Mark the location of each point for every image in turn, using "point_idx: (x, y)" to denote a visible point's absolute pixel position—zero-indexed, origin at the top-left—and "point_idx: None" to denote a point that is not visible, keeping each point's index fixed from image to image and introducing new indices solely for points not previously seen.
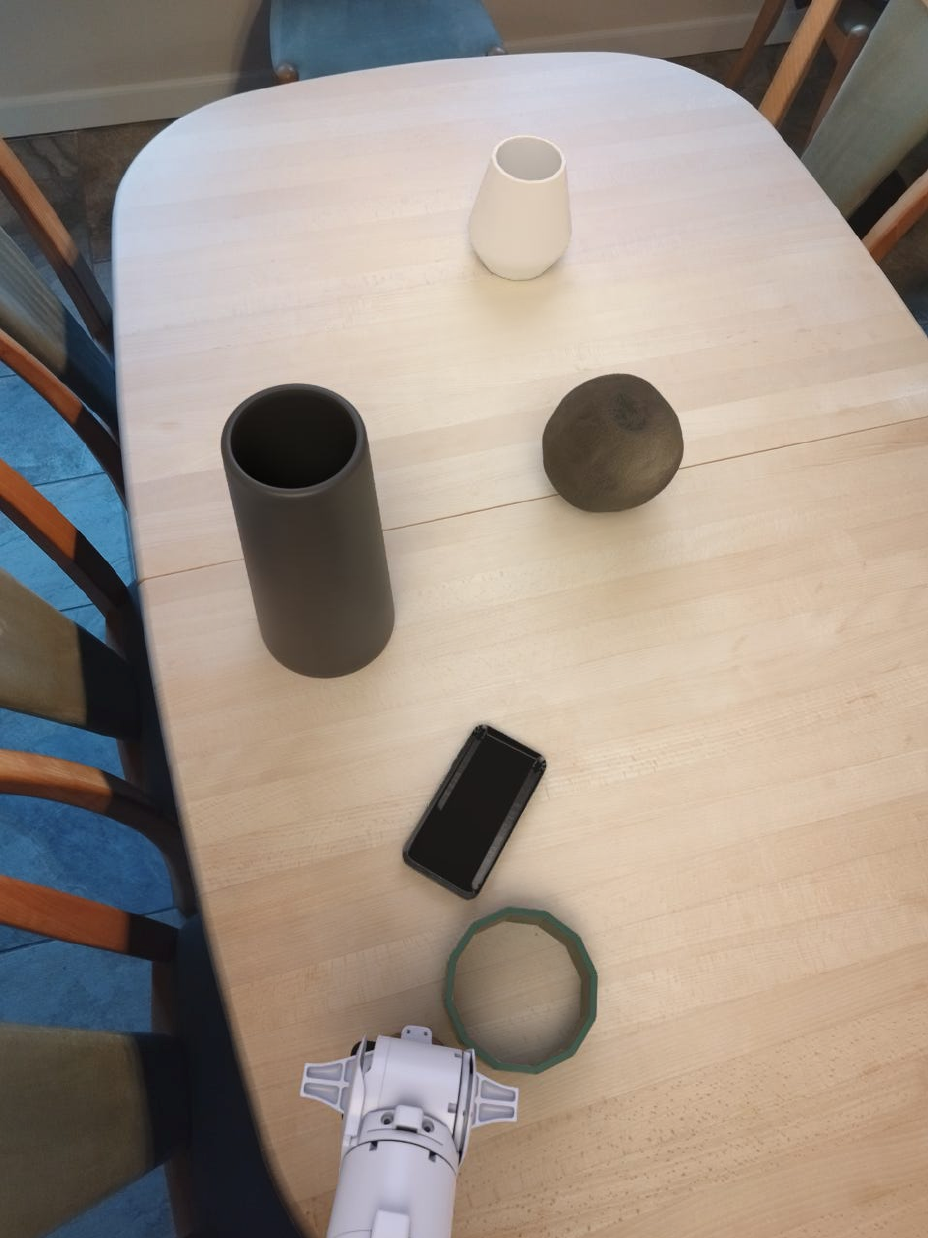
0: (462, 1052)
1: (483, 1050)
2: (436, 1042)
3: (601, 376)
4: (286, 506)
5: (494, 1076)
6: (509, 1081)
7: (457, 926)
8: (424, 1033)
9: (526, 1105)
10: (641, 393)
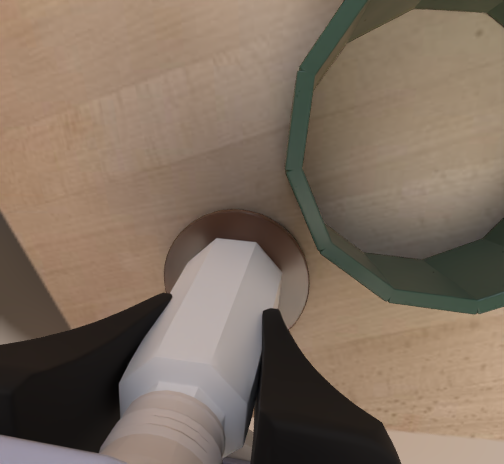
0: (351, 440)
1: (366, 268)
2: (273, 227)
3: None
4: None
5: None
6: None
7: (315, 26)
8: (254, 213)
9: (409, 308)
10: None
